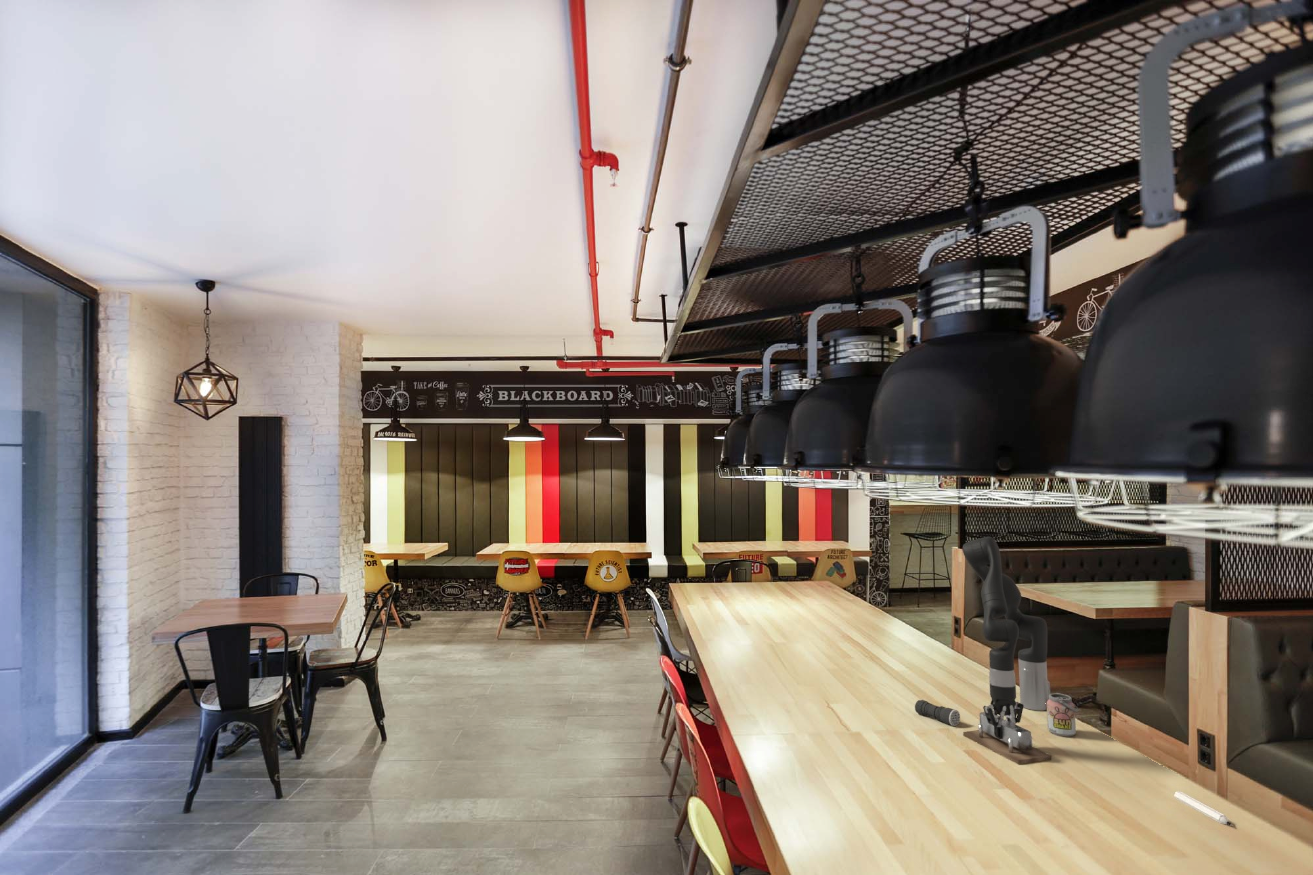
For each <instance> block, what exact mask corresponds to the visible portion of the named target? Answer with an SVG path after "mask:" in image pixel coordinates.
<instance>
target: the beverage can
mask: <svg viewBox="0 0 1313 875" xmlns="http://www.w3.org/2000/svg"><path fill="white" fill-rule="evenodd" d="M1072 700H1073V699H1072V697H1071V696H1070V695H1067V694H1065V693H1064V694H1063V693H1060V692H1056V693H1054V692H1053V693H1050V695H1049V700H1048V701H1047V710H1046V715H1047V716H1046V717H1047V718H1046V720H1047V730H1048V731H1049V732H1050V734H1052V735H1055V736H1059V737H1066V738H1067V737H1070V738H1071V737H1074V736H1075V735H1076V732H1077V729H1076V713H1078V712H1080V710H1079V708H1078V706H1077V705H1076V704H1075V703H1073V701H1072Z"/></svg>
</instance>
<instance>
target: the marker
mask: <svg viewBox="0 0 1313 875" xmlns="http://www.w3.org/2000/svg"><path fill="white" fill-rule="evenodd" d="M1173 797H1174V798H1175V799H1176V800H1177V801H1179V802H1181V803H1182V804H1184V805H1186V806H1188V807H1190V808H1192V809H1194V810H1196V811H1197V812H1199V813H1201V814H1203V815H1205V816H1206V817H1208V818H1210V819H1212V820H1214V821H1216V822H1218V823H1220V824H1222V825H1228V826H1232V827H1233V826H1234V825H1233V824H1232V823H1231V822H1230V821H1229V819H1228V817H1226V815H1225V814H1223V813H1221V812H1220V811H1217V810H1216V809H1214V808H1212V807H1210V806H1208V805H1206V804H1205V803H1202V802H1201V801H1199V800H1197V799H1195V798H1193V797H1192V796H1189V795H1188V794H1186V793H1185V792H1182V791H1180V790H1179V791H1175V793H1174V795H1173Z"/></svg>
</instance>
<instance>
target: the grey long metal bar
mask: <svg viewBox="0 0 1313 875" xmlns="http://www.w3.org/2000/svg"><path fill="white" fill-rule="evenodd" d="M997 722H998V719H997ZM979 724H982V725H983V731H984V732H986V733H988V734H990V735H992V736H994V737H996V736H995V735H994V726H993V725H992V724H989V723H988V721H987V718H986V715H985V712H984V711H983V712H979ZM1001 727H1002V739H1000V740H1002V741H1004V742H1006V743H1008V744H1009V741H1008V739H1009V738H1011V739H1013V746H1014V747H1016V748H1018V749H1020V750H1025V751H1030V750H1032V747H1033V744H1032V745H1031V736H1032V732H1031V731H1030V730H1028V729H1026V728H1024V727H1021V726H1019V725H1017V724H1013V723H1011V722H1009V721H1007V720H1006V719H1004V720H1002V724H1001Z"/></svg>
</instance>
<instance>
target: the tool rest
mask: <svg viewBox="0 0 1313 875" xmlns="http://www.w3.org/2000/svg"><path fill="white" fill-rule="evenodd" d="M962 735H963V737H965V738H967V739H969V740H970V741H973V742H974V743H976V742H977V744H978V745H980V746H982V747H984V748H986V749H988V750H990V751H992V752H994V753H996V754H997V755H999V754H1000V755H999V756H1001V755H1002V757H1003V758H1005V759H1008V761H1011V762H1014V763H1015V764H1017V765H1022V764H1023V765H1024V764H1030V763H1036V762H1037V763H1038V762H1043V761H1050V760H1052V755H1050V754H1049V753H1047V752H1046V751H1045V752H1044V751H1043V750H1040V749H1038V748H1037V747H1034V746H1033V736H1032V735H1031V745H1032V750H1030V751H1025V750H1020V749H1018V748H1016V747H1014V746H1013V739H1011V738H1009V739H1008V741H1009V744H1008V743H1006V742H1004V741H1002V740H1000V739H998V738H996V737H994V736H992V735H990V734H988V733H986V732H984V731H983V725H982V724H980V723H978V729H975V730H969V731H963V732H962Z"/></svg>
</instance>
